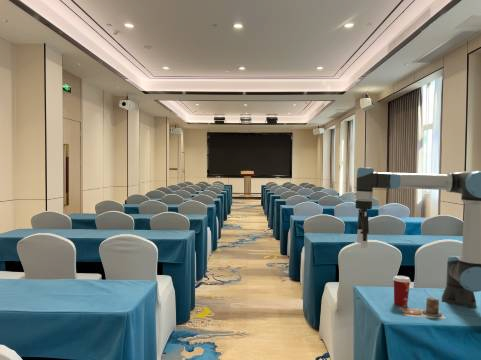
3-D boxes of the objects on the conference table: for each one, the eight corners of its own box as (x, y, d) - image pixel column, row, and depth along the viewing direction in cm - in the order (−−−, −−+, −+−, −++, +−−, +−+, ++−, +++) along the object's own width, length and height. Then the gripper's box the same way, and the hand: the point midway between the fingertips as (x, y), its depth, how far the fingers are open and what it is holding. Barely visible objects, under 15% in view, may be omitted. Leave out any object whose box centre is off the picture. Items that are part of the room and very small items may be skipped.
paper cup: (410, 310, 204) (412, 280, 203) (393, 308, 205) (394, 278, 205) (407, 305, 211) (409, 276, 211) (390, 303, 213) (392, 274, 212)
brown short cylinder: (436, 311, 198) (437, 297, 198) (439, 315, 193) (440, 301, 193) (424, 310, 199) (425, 297, 199) (427, 314, 194) (428, 300, 194)
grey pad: (438, 311, 200) (438, 310, 199) (444, 317, 192) (444, 316, 192) (420, 310, 201) (420, 309, 201) (425, 316, 193) (425, 314, 193)
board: (438, 313, 201) (438, 310, 201) (446, 321, 190) (446, 318, 190) (399, 310, 203) (399, 307, 203) (404, 318, 192) (404, 315, 192)
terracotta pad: (418, 310, 201) (418, 309, 201) (423, 315, 193) (423, 314, 193) (400, 308, 202) (400, 307, 202) (404, 314, 194) (404, 313, 194)
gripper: (352, 198, 222) (350, 240, 222) (359, 202, 197) (357, 249, 198) (368, 198, 221) (366, 241, 221) (376, 202, 196) (374, 250, 197)
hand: (361, 245), depth 210 cm, fingers open, 13 cm apart
